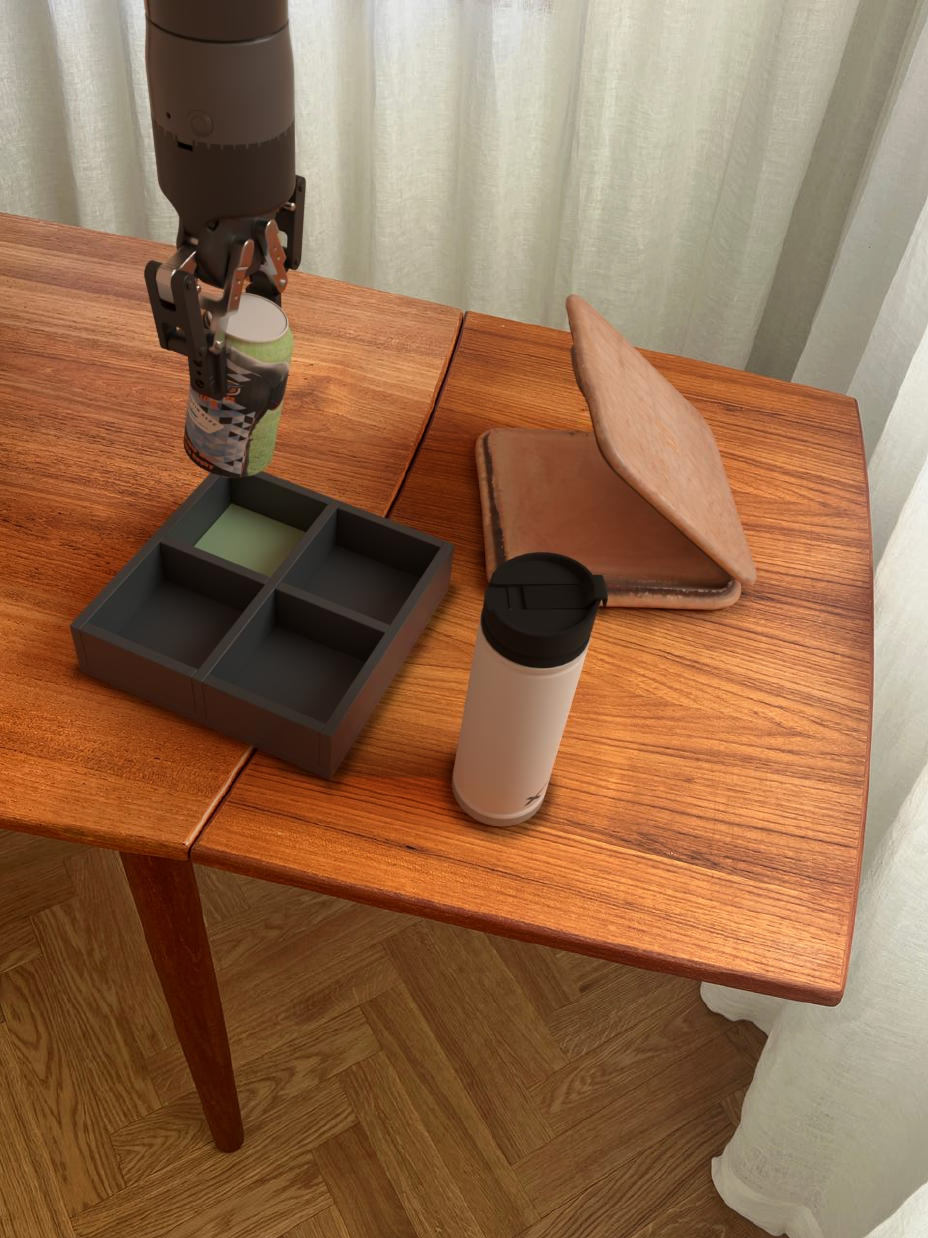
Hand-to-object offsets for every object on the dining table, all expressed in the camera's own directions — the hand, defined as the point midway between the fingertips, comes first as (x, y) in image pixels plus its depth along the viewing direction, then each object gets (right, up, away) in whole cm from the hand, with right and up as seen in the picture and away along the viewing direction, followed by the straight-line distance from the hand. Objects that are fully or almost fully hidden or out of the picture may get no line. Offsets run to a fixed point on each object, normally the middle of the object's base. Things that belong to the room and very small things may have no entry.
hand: (238, 365), depth 71 cm
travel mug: (+17, -28, +3) cm, 33 cm away
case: (+26, -8, +21) cm, 35 cm away
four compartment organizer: (+1, -17, +10) cm, 20 cm away
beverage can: (-1, -5, +6) cm, 8 cm away
